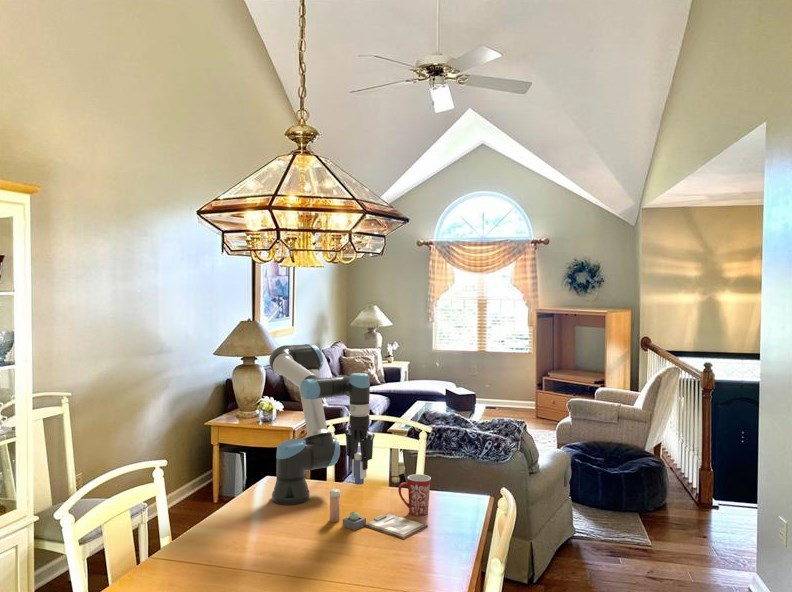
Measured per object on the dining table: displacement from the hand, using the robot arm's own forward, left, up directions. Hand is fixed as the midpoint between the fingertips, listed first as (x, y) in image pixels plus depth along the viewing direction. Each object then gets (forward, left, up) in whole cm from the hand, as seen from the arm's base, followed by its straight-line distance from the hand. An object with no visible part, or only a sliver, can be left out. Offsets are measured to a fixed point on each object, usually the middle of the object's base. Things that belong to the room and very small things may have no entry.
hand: (359, 476), depth 222 cm
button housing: (+5, -8, -15) cm, 17 cm away
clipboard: (+17, +1, -15) cm, 23 cm away
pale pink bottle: (-4, -9, -15) cm, 18 cm away
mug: (+14, +16, -15) cm, 26 cm away
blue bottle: (0, 0, -2) cm, 2 cm away
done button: (+5, -8, -13) cm, 16 cm away
